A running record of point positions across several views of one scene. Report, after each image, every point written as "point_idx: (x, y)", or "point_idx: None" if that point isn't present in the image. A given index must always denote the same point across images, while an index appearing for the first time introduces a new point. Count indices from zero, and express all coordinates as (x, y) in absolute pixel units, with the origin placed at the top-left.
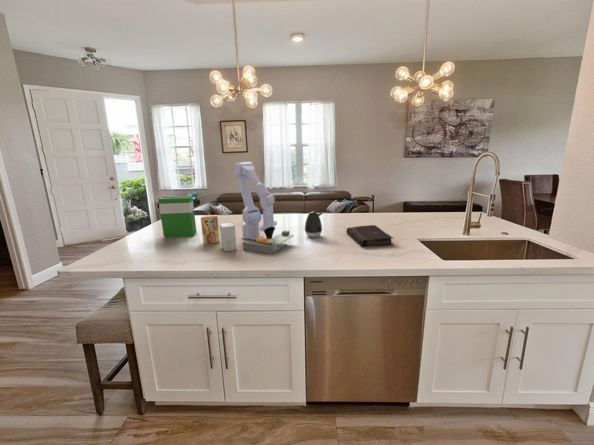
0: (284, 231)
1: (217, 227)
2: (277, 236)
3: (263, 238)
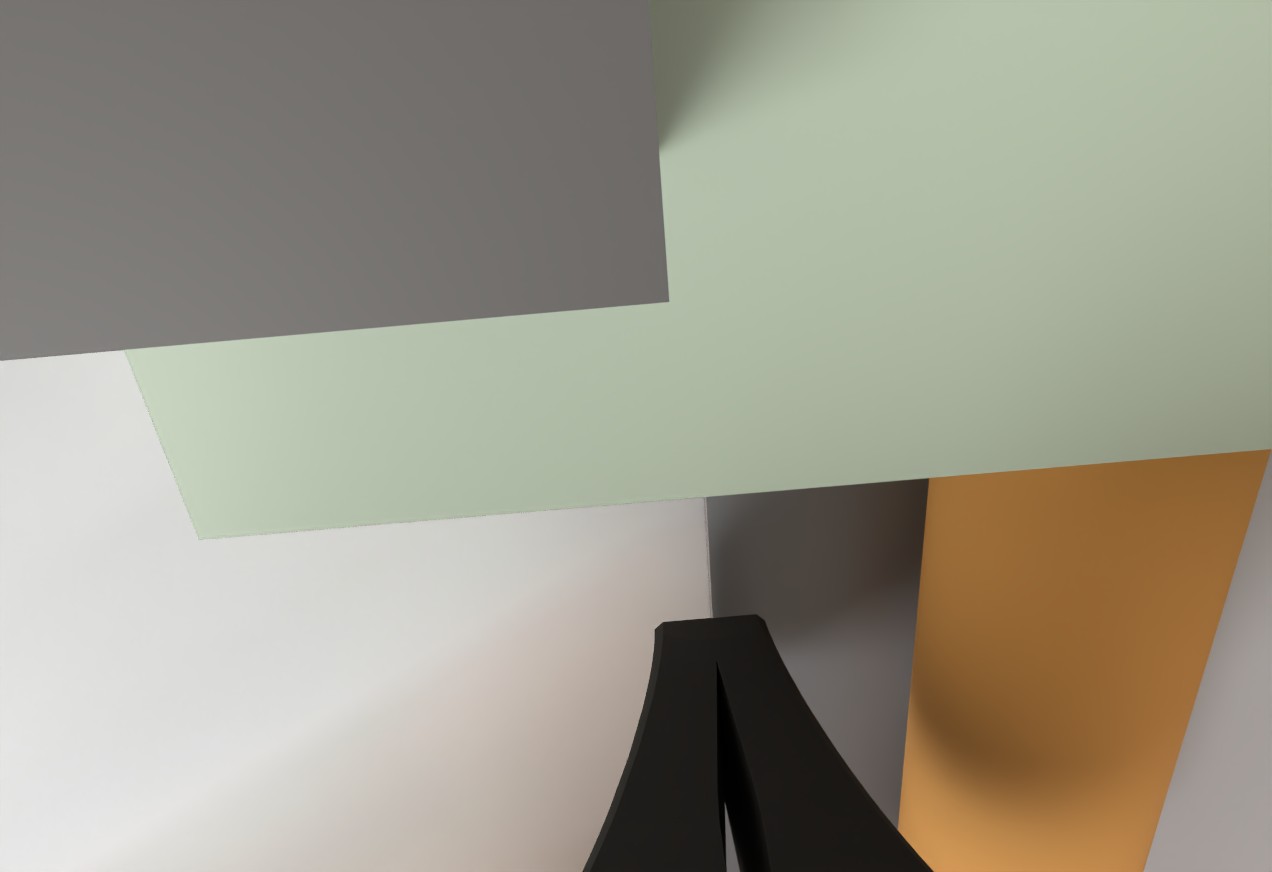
0: (299, 125)
1: None
2: (1046, 324)
3: (1113, 836)
